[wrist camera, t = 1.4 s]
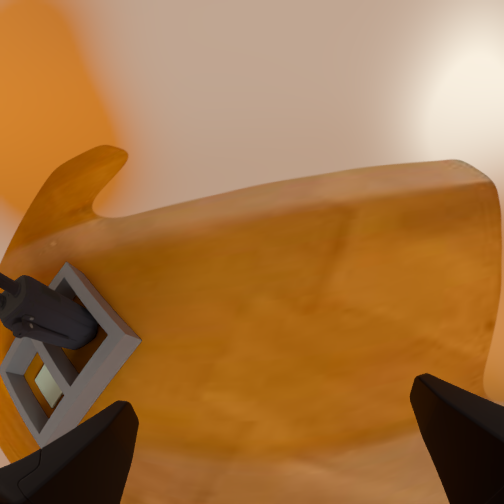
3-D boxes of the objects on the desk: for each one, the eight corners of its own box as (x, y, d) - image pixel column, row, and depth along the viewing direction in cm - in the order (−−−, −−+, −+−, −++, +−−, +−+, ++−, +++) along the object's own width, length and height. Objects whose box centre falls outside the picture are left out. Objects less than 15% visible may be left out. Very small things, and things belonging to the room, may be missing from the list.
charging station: (60, 447, 17) (42, 449, 14) (14, 371, 21) (-3, 366, 18) (142, 340, 22) (125, 333, 19) (80, 270, 26) (64, 258, 23)
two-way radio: (96, 305, 24) (-18, 229, 11) (110, 344, 22) (-23, 286, 9) (61, 328, 23) (-51, 272, 10) (72, 366, 21) (-53, 326, 8)
